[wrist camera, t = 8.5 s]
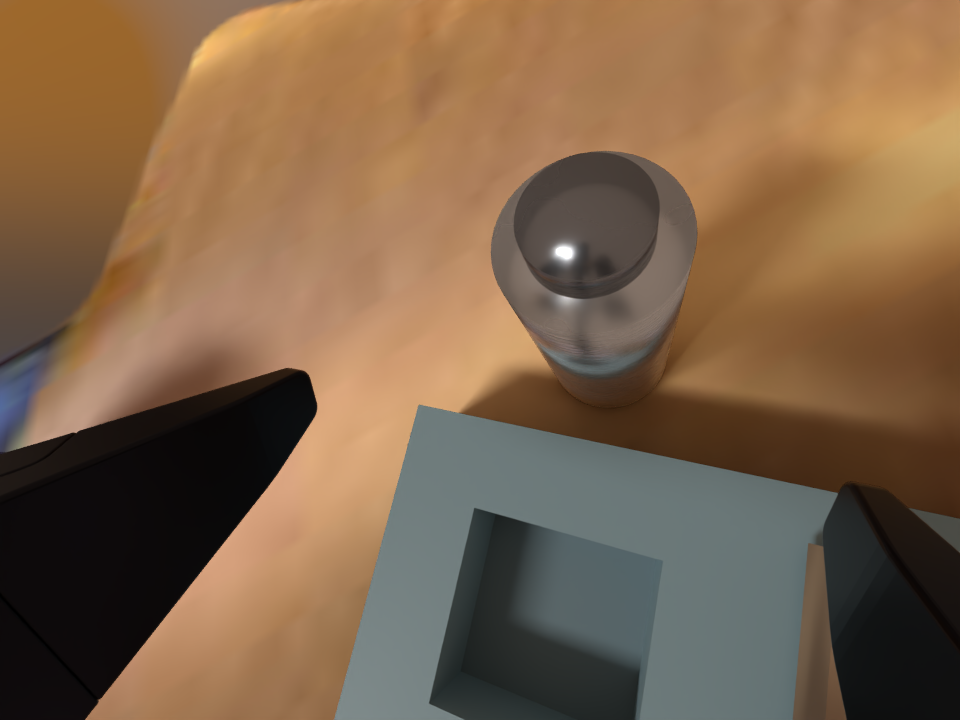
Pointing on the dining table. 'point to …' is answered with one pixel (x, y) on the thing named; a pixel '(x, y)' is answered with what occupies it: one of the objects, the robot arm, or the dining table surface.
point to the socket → (582, 583)
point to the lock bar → (816, 649)
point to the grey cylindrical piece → (598, 270)
